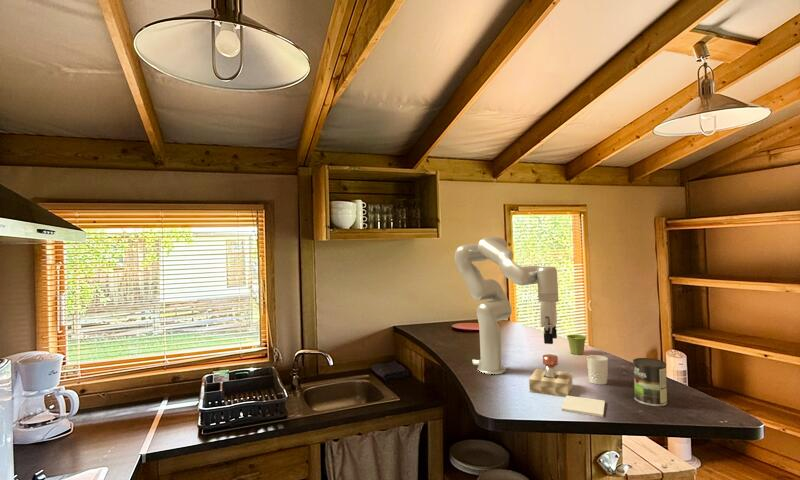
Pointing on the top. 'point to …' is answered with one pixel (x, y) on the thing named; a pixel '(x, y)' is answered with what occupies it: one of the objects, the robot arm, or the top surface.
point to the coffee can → (650, 381)
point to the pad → (584, 406)
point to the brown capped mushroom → (550, 365)
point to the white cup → (597, 369)
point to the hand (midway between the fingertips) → (550, 340)
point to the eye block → (551, 383)
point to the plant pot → (576, 344)
